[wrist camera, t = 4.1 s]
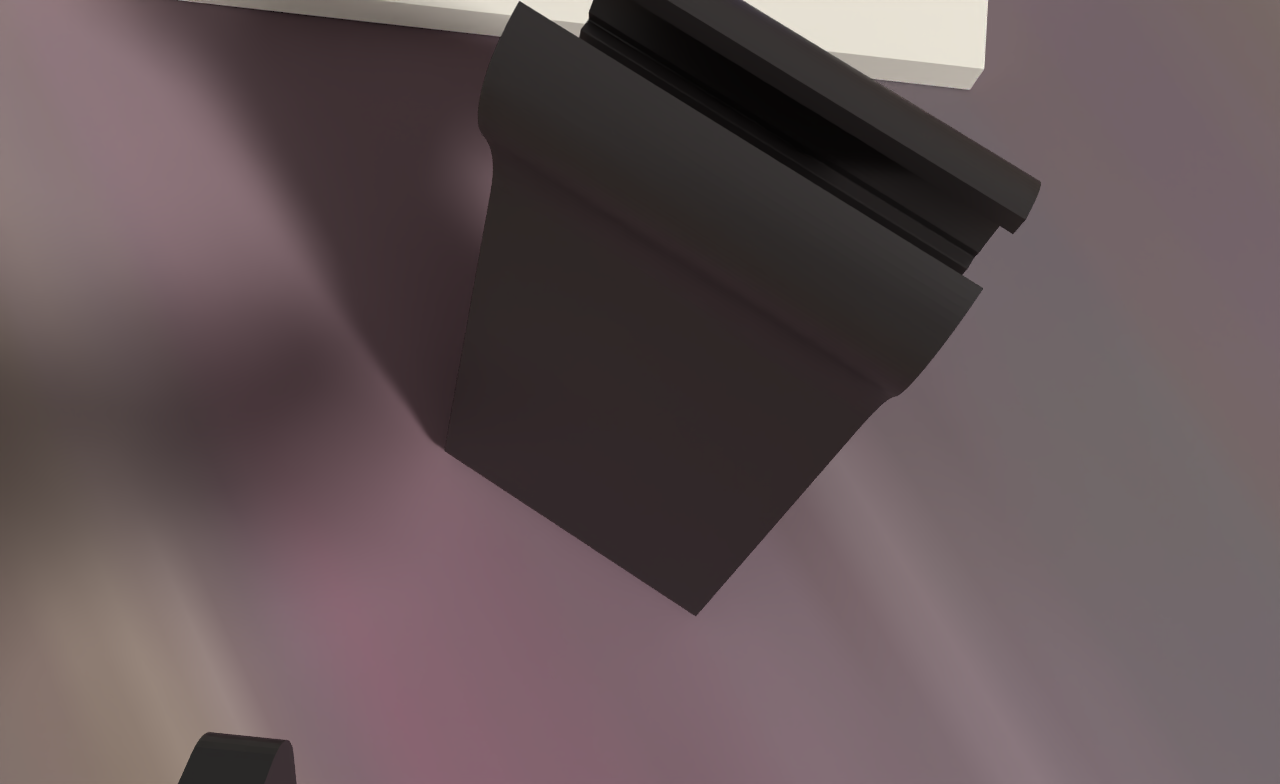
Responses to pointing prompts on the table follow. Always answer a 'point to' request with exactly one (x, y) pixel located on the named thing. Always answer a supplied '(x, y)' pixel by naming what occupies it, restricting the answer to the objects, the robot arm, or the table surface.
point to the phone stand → (702, 274)
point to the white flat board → (806, 3)
